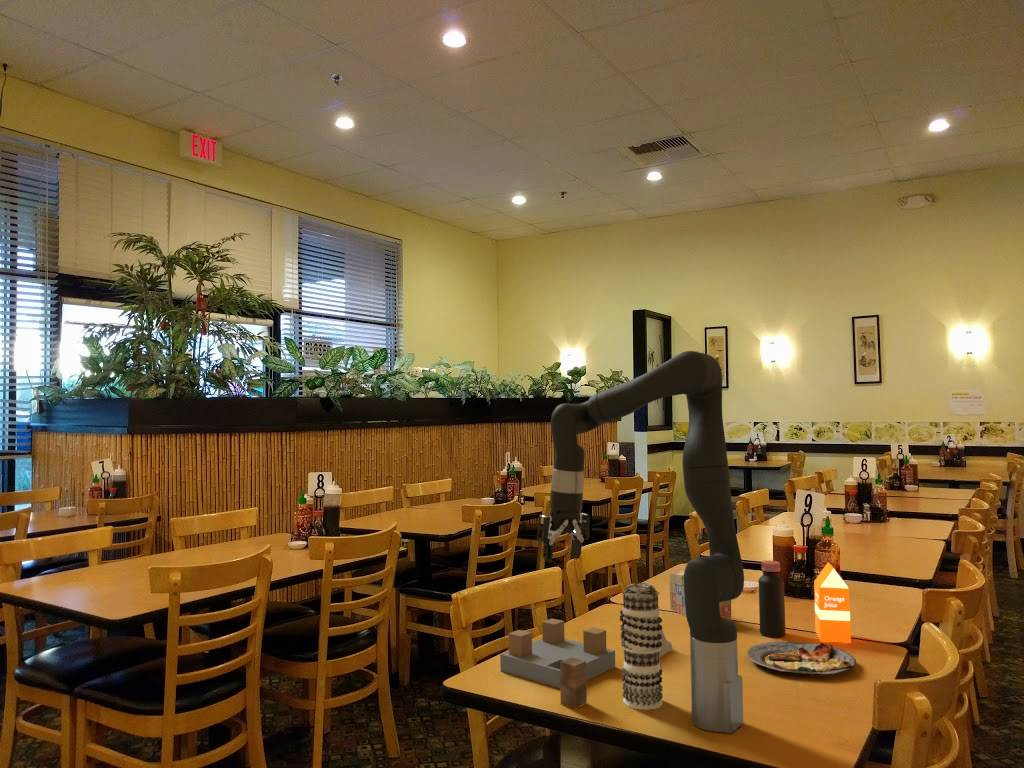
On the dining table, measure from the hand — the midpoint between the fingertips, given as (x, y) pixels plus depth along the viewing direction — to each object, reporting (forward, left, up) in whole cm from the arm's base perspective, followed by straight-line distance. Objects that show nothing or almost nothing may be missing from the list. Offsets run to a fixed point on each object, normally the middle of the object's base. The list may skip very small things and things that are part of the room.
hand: (561, 559), depth 173 cm
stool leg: (-8, +7, -29) cm, 31 cm away
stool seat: (+8, -8, -29) cm, 31 cm away
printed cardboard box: (+2, -71, -29) cm, 76 cm away
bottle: (-21, -68, -29) cm, 77 cm away
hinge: (-3, -30, -29) cm, 42 cm away
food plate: (-36, -49, -29) cm, 67 cm away
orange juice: (-35, -75, -29) cm, 88 cm away
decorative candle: (-19, -3, -29) cm, 35 cm away
